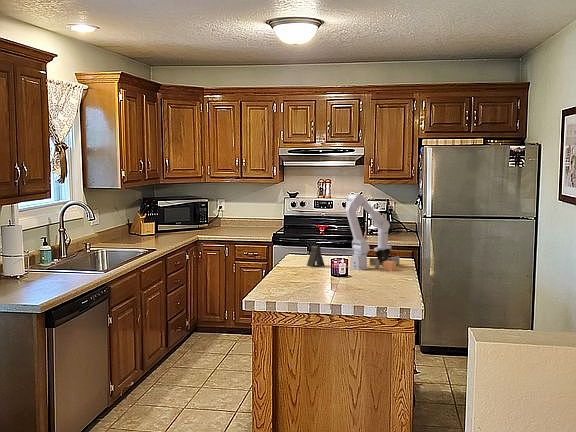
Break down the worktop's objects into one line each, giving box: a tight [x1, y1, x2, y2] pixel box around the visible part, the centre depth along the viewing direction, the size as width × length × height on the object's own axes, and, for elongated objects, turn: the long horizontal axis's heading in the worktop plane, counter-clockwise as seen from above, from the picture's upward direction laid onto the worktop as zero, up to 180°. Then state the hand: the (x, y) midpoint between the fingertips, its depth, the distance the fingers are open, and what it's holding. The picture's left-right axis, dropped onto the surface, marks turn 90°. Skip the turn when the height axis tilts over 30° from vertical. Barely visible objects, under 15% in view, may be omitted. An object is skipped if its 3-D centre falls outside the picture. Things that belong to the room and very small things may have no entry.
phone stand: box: [306, 245, 326, 268], centre depth 372 cm, size 9×6×12 cm, turn 120°
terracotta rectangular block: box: [382, 261, 397, 272], centre depth 359 cm, size 4×6×5 cm, turn 45°
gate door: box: [369, 257, 392, 266], centre depth 375 cm, size 14×1×4 cm, turn 96°
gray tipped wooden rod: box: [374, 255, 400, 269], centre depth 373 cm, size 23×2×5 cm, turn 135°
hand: (382, 262), depth 371 cm, fingers open, 4 cm apart
